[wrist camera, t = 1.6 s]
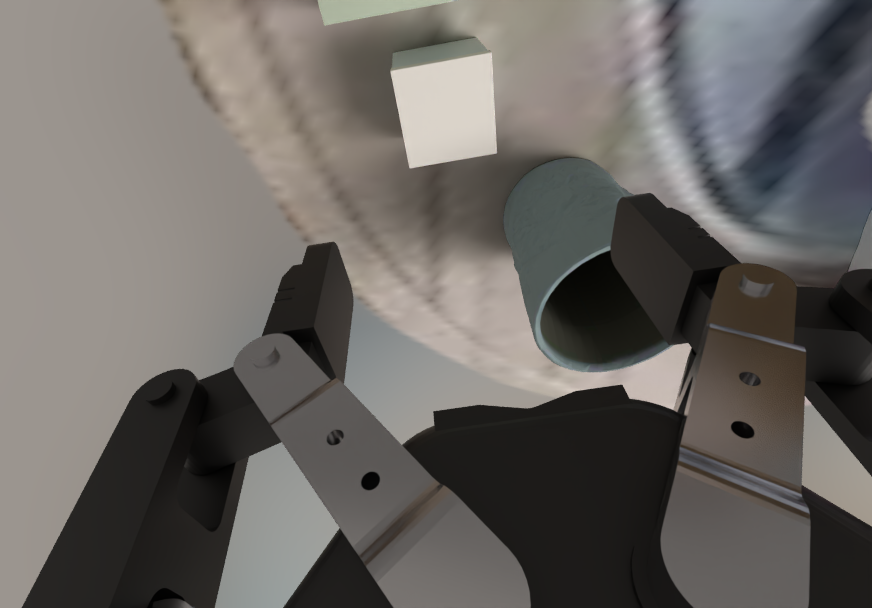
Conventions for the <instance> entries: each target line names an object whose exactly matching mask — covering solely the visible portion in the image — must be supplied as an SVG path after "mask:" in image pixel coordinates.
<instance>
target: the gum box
mask: <svg viewBox="0 0 872 608" xmlns="http://www.w3.org/2000/svg"><path fill="white" fill-rule="evenodd" d="M857 269H872V210H871V212H870V214H869V216H868V219H867V222H866V224H865V227H864V230H863V232H862V236H861V239H860V242H859V245H858V247H857V250H856V252H855V254H854V256H853V259H852V261H851V264H850V267H849V269H848V272H849V271H852V270H857Z"/></svg>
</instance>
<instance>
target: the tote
mask: <svg viewBox="0 0 872 608" xmlns="http://www.w3.org/2000/svg"><path fill="white" fill-rule="evenodd" d="M452 1H457V0H318V4H319V8H320V12H321V15H322V19H323V23H324V26H325V25H330V24H335V23H341V22H346V21H351V20H357V19H362V18H367V17H373V16H378V15H383V14H388V13H394V12H399V11H404V10H410V9H415V8H420V7H426V6H431V5H436V4H441V3H447V2H452Z"/></svg>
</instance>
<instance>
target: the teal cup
mask: <svg viewBox="0 0 872 608" xmlns="http://www.w3.org/2000/svg"><path fill="white" fill-rule="evenodd" d="M626 196H633V194H631V193H629V192H628V191H627V190H625V189H624V188H622V187H621V186H619V185H618V184H617V183H616V181H615V180H614V178H613V177H612V176H611V175H610V174H609V173H608V172H606V171H605V170H604V169H603V168H601V167H600V166H598V165H597V164H595V163H593V162H591V161H590V160H584V159H580V158H564V159H558V160H553V161H551V162H547V163H545V164H543V165H540V166H538V167H536V168H534V169H533V170H531V171H530V172H528V173H527V174H526V175H525V176H524V177H523V178H522V179H521V180H520V181H519V182H518V183H517V184H516V186H515V187H514V189H513V190H512V191H511V193H510V195H509V197H508V199H507V202H506V205H505V210H504V215H503V225H504V230H505V234H506V238H507V241H508V243H509V245H510V247H511V249H512V254H513V259H514V266H515V269H516V271H517V272H518V274H519V280H520V285H521V289H522V294H523V299H524V303H525V307H526V310H527V314H528V317H529V321H530V324H531V328H532V332H533V335H534V339H535V342H536V344H537V346H538V348H539V349H540V350H541V351H542V352H543V354H544V355H545V356H546V357H547V358H548V359H550V360H551V361H552V362H553V363H555V364H557V365H559V366H561V367H564V368H567V369H570V370H575V371H581V372H607V371H613V370H619V369H622V368H626V367H630V366H633V365H636V364H639V363H641V362H644V361H646V360H649V359H651V358H653V357H655V356H657V355H659V354H660V353H662V352H664V351H666V350H667V349H669V348H670V347H672V346H673V345H668V344H667V342H666V341H665V339H664V338H663V336H662V335H661V333H660V332H659V330H658V329H657V328H656V326H655V325H654V323H653V322H652V320H651V319H650V317H649V316H648V314H647V313H646V312H645V310H644V309H643V307H642V306H641V304H640V303H639V301H638V300H637V298H636V297H635V295H634V294H633V293H632V291H631V290H630V288H629V287H628V285H627V284H626V282H625V281H624V279H623V278H622V277H621V275H620V274H619V272H618V271H617V269H616V268H615V266H614V264H613V262H612V258H611V251H610V246H611V239H612V233H613V227H614V221H615V215H616V208H617V204H618V201H619V199H620V198H622V197H626Z"/></svg>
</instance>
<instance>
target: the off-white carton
mask: <svg viewBox="0 0 872 608" xmlns="http://www.w3.org/2000/svg"><path fill="white" fill-rule="evenodd" d="M390 71H391V77H392V82H393V87H394V92H395V97H396V102H397V107H398V112H399V117H400V122H401V128H402V133H403V138H404V143H405V148H406V153H407V158H408V163H409V168H415V167H421V166H427V165H433V164H438V163H444V162H450V161H456V160H462V159H468V158H473V157H479V156H485V155H491V154H497V145H496V126H495V107H494V88H493V70H492V52H491V51H490V50H487V49H486V48H485V47H484V46H483V44H482V43H481V42H480V41H479V40H478V38H477V37H476V38H470V39H465V40H459V41H454V42H449V43H443V44H438V45H432V46H427V47H422V48H416V49H411V50H405V51H400V52H394V53H393V57H392V68H391V70H390Z"/></svg>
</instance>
